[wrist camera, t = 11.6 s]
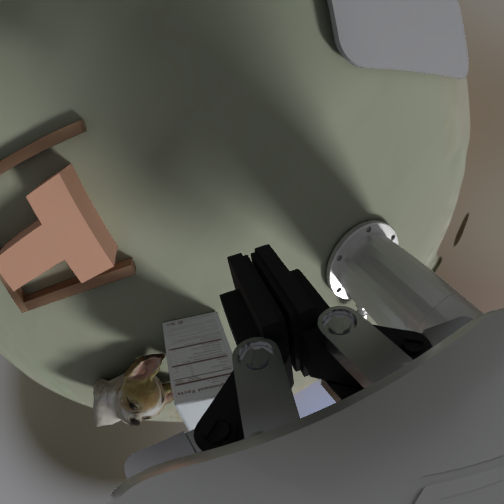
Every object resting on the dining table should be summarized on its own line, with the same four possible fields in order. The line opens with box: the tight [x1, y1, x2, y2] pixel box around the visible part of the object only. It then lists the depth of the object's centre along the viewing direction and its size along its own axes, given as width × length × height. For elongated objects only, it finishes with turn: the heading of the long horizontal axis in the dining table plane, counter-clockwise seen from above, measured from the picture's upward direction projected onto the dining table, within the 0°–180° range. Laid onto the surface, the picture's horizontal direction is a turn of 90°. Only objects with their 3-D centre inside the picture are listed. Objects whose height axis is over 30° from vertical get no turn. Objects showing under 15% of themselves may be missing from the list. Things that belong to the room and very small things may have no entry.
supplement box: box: [162, 312, 234, 431], centre depth 32 cm, size 7×7×13 cm
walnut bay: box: [0, 119, 136, 313], centre depth 23 cm, size 16×16×2 cm
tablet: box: [327, 0, 469, 79], centre depth 23 cm, size 16×26×2 cm, turn 99°
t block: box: [0, 164, 118, 291], centre depth 23 cm, size 10×12×4 cm
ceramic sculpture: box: [93, 354, 174, 426], centre depth 34 cm, size 11×9×15 cm
